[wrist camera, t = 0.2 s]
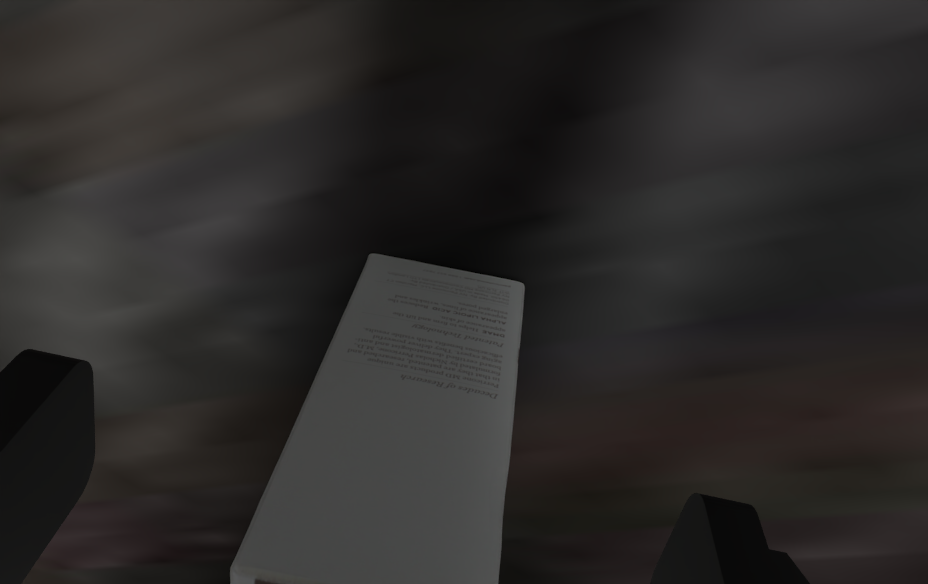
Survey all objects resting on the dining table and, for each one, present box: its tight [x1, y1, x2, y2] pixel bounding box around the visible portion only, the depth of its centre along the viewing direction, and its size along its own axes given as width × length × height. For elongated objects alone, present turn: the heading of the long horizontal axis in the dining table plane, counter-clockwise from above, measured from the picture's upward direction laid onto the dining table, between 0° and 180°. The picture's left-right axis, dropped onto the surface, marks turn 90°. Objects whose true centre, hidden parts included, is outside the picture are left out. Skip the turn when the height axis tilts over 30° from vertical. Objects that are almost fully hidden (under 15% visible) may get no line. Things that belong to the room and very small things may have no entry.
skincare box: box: [230, 253, 525, 584], centre depth 25 cm, size 8×6×15 cm
